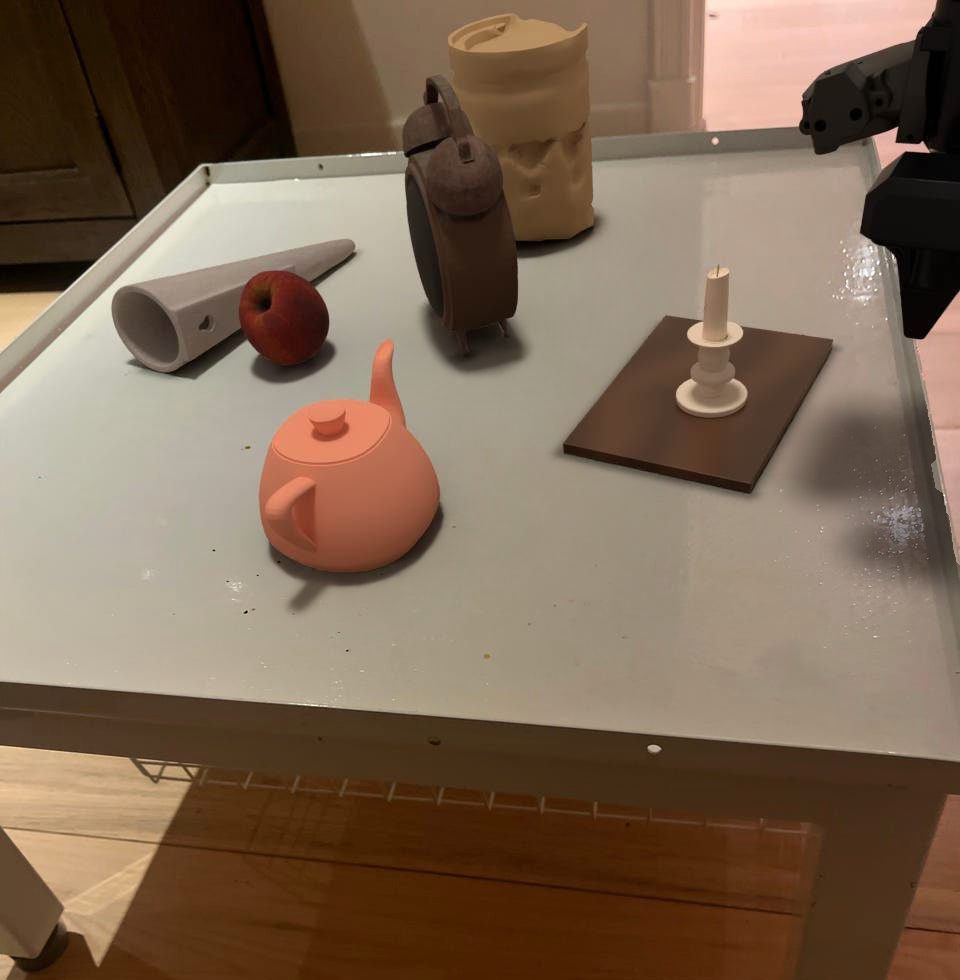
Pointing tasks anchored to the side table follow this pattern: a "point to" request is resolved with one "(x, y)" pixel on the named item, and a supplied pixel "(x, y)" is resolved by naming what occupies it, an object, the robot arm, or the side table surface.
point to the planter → (203, 303)
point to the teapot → (348, 481)
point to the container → (531, 117)
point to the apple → (283, 317)
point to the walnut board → (687, 438)
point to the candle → (713, 357)
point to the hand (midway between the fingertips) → (932, 299)
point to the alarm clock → (458, 217)
